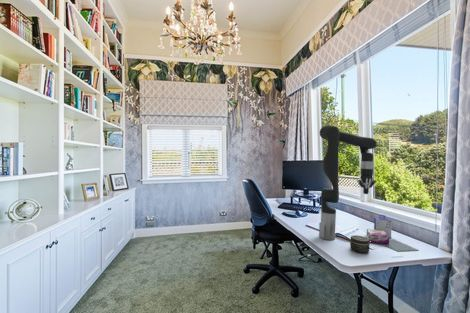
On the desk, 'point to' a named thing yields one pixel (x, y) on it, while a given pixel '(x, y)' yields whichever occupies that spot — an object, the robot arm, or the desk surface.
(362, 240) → the jar
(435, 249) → the desk surface
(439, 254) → the desk surface
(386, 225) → the ink cartridge box
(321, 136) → the robot arm
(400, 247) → the mat
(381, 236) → the candy bar box
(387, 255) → the desk surface
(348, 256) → the desk surface
